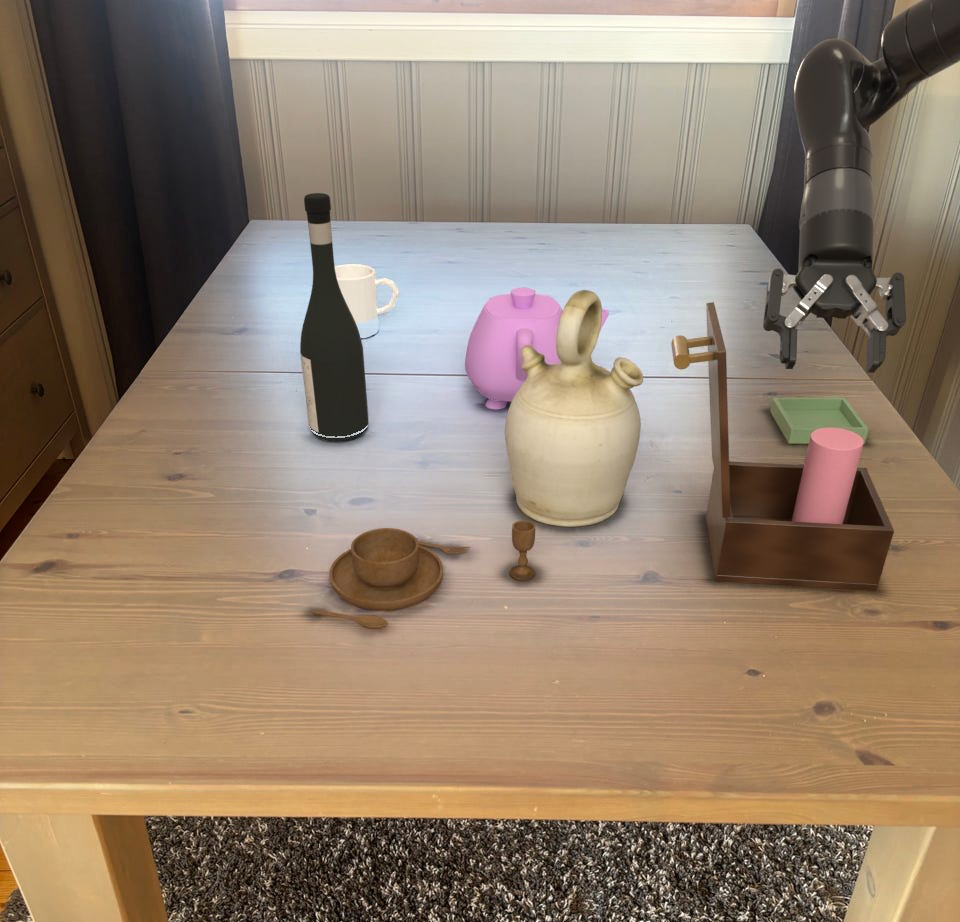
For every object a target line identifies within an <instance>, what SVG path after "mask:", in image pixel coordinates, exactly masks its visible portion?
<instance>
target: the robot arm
mask: <svg viewBox="0 0 960 922" xmlns="http://www.w3.org/2000/svg"><path fill="white" fill-rule="evenodd" d="M880 43H881V44H880V45H881V54H882V57H881V58H879V59H877V60H875V61H874V62H871V61H870V60H869V59H868V58H866V57H865V56H864V54H863V53H861V52H860V51H859V50H858V49H857V47H855V46H854V45H853V44H851V42H848V41H847V40H845V39H842V38H828V39H824V40H822V41H821V42H818V43H817V44H816V45H814V46H813V47H812V48H811V49H810V50H809V51H808V52H807V53H806V55H805V56H804V57H803V60H802V61H801V63H800V65H799V68H798V70H797V73H796V75H795V76H796V77H795V81H794V87H793V89H794V90H793V99H794V110H795V115H796V120H797V125H798V130H799V135H800V140H801V143H802V146H803V151H804V157H805V159H804V174H803V175H804V176H803V195H802V199H801V200H802V201H801V204H800V205H801V206H800V214H799V215H800V217H799V220H798V228H799V243H798V244H799V245H798V269H797V270H798V272H797V274H788V273H784V270H783V269H781V268H774V269H773V270H772V272H771V275H770V276H769V279H768V281H767V285H766V294H765V304H764V314H763V321H762V328H763V330H764V331H766V332H771V331H772V332H775V333H777V334H778V336H779V338H780V339H779V361H780V364H784V369H785V370H793V369H794V367H795V365H796V362H797V357H798V356H797V353H798V327H799V326H800V325H801V324H802V323H803V322H804V321H805V320H806V319H807V317H809V315H810V314H812V315H814V316H815V318H816V319H824V318H825V319H826V318H828V317H831V318H836V319H840V320H841V319H843V320H845V319H847V317H850V318H851V319H852V321H853V322H854V324H856V326H857V327H860V328H861V329H862V330H863V331H864V333H865V334H866V335H867V336H868V339H867V341H866V373H870V374H873V373H874V374H875V372H876V371H877V370H878V368H880V367H881V366H882V365H883V363H884V362H885V359H886V354H887V353H886V350H887V349H886V347H887V337H888V336H891V337H894V336H896V335H897V334H898V333H899V332H900V330H901V329H902V327H904V325H906V323H907V315H906V314H907V313H906V294H905V293H906V292H905V291H906V290H905V289H906V288H905V276H904V274H903V273H901V272H895V273H893V275H892V276H889V277H888V276H886V277H877V276H876V275H875V273H874V271H873V270H874V269H873V262H874V261H873V260H874V259H873V258H874V257H873V256H874V223H875V221H874V220H875V198H874V190H873V189H874V188H873V162H874V161H873V160H874V159H873V157H874V152H873V141H872V138H871V135H870V134H869V132H868V130H866V128H868V127H870V126H871V125H873V124H874V123H876V122H877V121H878V120H880V119H881V118H882V117H883V116H884V115H886V114H887V113H888V112H889V111H890V110H891V109H892V108H894V107H895V106H896V105H897V104H898V103H899V102H900V101H902V100H903V99H904V98H905V97H907V95H908V94H910V92H912V91H913V90H914V89H915V88H916V87H917V86H918V85H919V84H921V83H922V82H923V81H925V80H927V79H929V78H931V77H933V76H935V75H936V74H938V73H941V72H942V71H944V70H947V69H948V68H950V67H952V66H954V65H955V64H957V63H959V62H960V0H920V1H918V2H916V3H915V4H913V5H911V6H909V7H908V8H906V9H904V10H903V11H901V12H899V13H898V14H897V15H896V16H894V17H892V19H890V21H888V23H887V24H886V25H885V27H884V28H883V31H882V34H881V42H880ZM791 288H793V290H794V293H796V295H797V296H798V298H799V299H800V302H799V303H798V304H797V305H796V306H795V307H794V309H793V310H792V311H791V312H790V313H789V315H787V316H784V315H781V314H780V312H781V304H782V297H783V296H785V295H786V294H787V292H788V291H789V289H791ZM873 291H877V292H878V294H879V297H880V299H881V300H883V301H884V303H885V304H884V305H885V317H884V316H883V315H882V314H881V312H880V310H879V309H878V305H877V303H876V301H874V299H873V298H872V296H871V294H872V293H873Z"/></svg>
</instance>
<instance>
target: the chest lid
mask: <svg viewBox="0 0 960 922" xmlns="http://www.w3.org/2000/svg"><path fill="white" fill-rule="evenodd" d="M705 310H706V311H705V314H706V336H703V337H702V336H701V337H695V338H686V336H684V335H682V334H681V335H675V336H674V337H673V338H672V340H671V343H670V345H671V352H672V360H673V366H674V367H675V368H676V369H677V370H686V369H687V368H688V367H689V366H690V365H691V364H695V363H703V362H704V363H705V362H707V365H708V389H709V390H708V391H709V393H708V394H709V419H710V438H711V439H710V442H711V459H712V466H713V470H714V471H715V477H716V483H717V489H718V494H719V500H720V506H721V511H722V517H723V518H726V517H731V512H730V475H729V461H730V442H729V441H730V440H729V409H728V407H729V405H728V404H729V403H728V369H727V368H728V367H727V349H726V346H725V341H724V337H723V333H722V329H721V324H720V322H719V317H718V313H717V312H718V311H717V309H716V304H715V301H712V302H711V301H710V302H706V303H705ZM700 347H707V351H706V352H705V351H704V352H696V353H691V352H690V349H692V348H700Z"/></svg>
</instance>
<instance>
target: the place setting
mask: <svg viewBox="0 0 960 922" xmlns="http://www.w3.org/2000/svg"><path fill="white" fill-rule="evenodd" d="M511 542H512V543H511V544H512V546H513V548H514V549H515V550H516V551H518V554H519V556H518V558H517V564H518V565H515V566H512V567H511V568H510V569H509V573H508V574H509V576H510V578H512V579H514V580H516V581H520V582H524V581H525V582H526V581H530V580H533V578H535V576H536V572H537V571H536V570H535V569H534V568H533V567H532V566H530V565H528V562H529V559H528V556H527V555H528V552H529V551H531V550H532V549H533V548H534V546H535V542H536V524H535V523H534V522H532V521H530V520H525V519H523V520H517V521H514V522H513V523H512V525H511ZM428 547H431V548H435V549H440V550H442V551H443V552H444V553H446V554H448V555H449V554H450V555H451V554H467V553H468V552H469V550H470V548H471V546H444V545H440V544H436V543H429V542H426V541H425V542H423V541H419V540H418V539H417V538H416V536H415V535H414V534H412V533H410V532H408V531H407V530H404V529H400V528H394V527H382V528H381V527H380V528H374V529H370V530H366V531H365V532H363V533H361V534H359V535H358V536H357V537H355V538H354V539H353V541H352V542H351V545H350V548H349V549H348V550H346V551H345V552H343V553H341V554H340V555H339V556H337V558H335V560H334V561H333V562H332V564H331V566H330V568H329V572H328V576H329V583H330V585H331V587H332V589H333V591H334V592H335V594H336V596H338V597H339V598H340V599H341V600H343V601H344V602H346V603H348V604H350V605H351V606H355V607H357V608H360V609H364V610H370V611H378V612H379V611H380V612H382V611H383V612H387V611H398V610H403V609H406V608H407V609H408V608H410V607H413V606H416V605H418V604H420V603H423V602H424V601H426V600H427V599H429V598H430V597H431V596H432V595H433V594H434V593H435V592H436V591H437V590H438V589H439V588H440V585H441V584H442V580H443V578H444V565H443V562H442V560H441V558H440V557H439V556H438V555H437V554H436V553H435V552H434V551H432V550H431V549H429V548H428ZM311 613H313V614H315V615H321V616H327V617H332V618H333V617H334V618H339V619H340V618H341V619H346V620H351V621H355V622H356V623H358V625H360V626H362V627H364V628H367V629H382V628H385V627H386V626H387V625H388V624H389V621H388V620H387V619H385V618H383V617H381V616H377V615H365V616H364V615H363V616H356V615H349V614H343V613H338V612H333V611H329V610H328V611H327V610H321V609H312V610H311Z"/></svg>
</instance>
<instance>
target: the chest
mask: <svg viewBox="0 0 960 922" xmlns="http://www.w3.org/2000/svg"><path fill="white" fill-rule="evenodd" d="M803 468H804V464H795V463H794V464H790V463H774V462H773V463H772V462H771V463H769V462H751V461H730V460H729V475H730V512H731V517H726V518H723V517H722V511H721V506H720V500H719V494H718V489H717V483H716V477H715V471H714V469H713V471H712V476H711V483H710V489H709V494H708V495H709V496H708V502H707V508H706V515H705V519H706V525H707V533H708V539H709V540H708V541H709V546H710V554H711V558H712V559H711V561H712V567H713V573H714V580H715V582H721V583H722V582H723V583H724V582H725V583H738V584H739V583H742V584H755V585H756V584H758V585H774V586H775V585H776V586H793V587H809V588H824V589H826V588H827V589H843V590H860V591H877V590H878V587H879V584H880V581H881V577H882V573H883V571H884V566H885V565H886V560H887V557H888V554H889V550H890V547H891V543H892V540H893V537H894V534H895V529H894V527H893V525H892V522H891V521H890V518H889V516H888V513H887V511H886V509H885V507H884V504H883V502H882V500H881V498H880V495H879V493H878V491H877V489H876V487H875V485H874V482H873V479H872V477H871V475H870V473H869V469H868V468H866V467H857V471H856V475H855V478H854V482H853V486H852V490H851V494H850V498H849V502H848V505H847V509H846V513H845V517H844V521H843V524H829V523H810V522H792V517H793V513H794V508H795V504H796V499H797V495H798V490H799V486H800V481H801V477H802V472H803Z"/></svg>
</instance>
